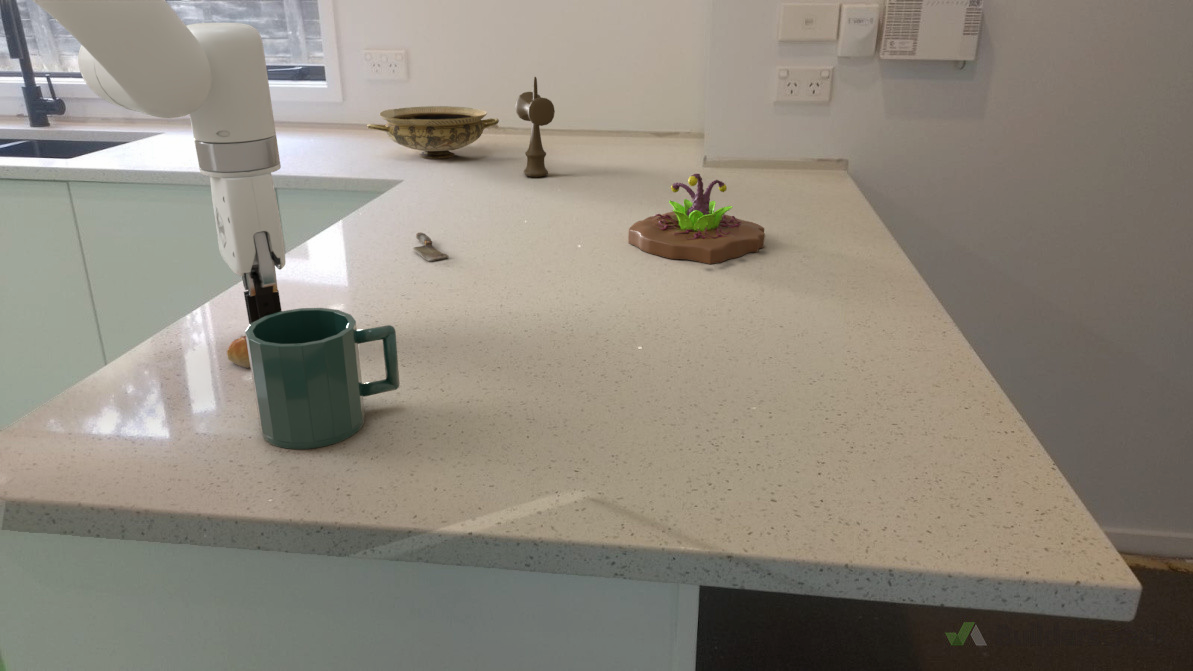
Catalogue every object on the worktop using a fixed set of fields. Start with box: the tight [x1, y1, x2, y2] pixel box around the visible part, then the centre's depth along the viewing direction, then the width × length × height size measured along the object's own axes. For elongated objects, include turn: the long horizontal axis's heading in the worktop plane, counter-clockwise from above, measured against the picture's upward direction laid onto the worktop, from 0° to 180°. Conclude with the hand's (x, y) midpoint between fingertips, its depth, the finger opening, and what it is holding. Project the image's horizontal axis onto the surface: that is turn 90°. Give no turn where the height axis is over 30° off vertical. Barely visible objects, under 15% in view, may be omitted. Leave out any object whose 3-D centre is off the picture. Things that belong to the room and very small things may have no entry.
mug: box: [244, 307, 401, 450], centre depth 74 cm, size 12×9×10 cm
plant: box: [627, 173, 766, 265], centre depth 129 cm, size 20×20×11 cm
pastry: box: [226, 335, 251, 369], centre depth 87 cm, size 9×7×4 cm
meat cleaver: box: [412, 232, 449, 262], centre depth 125 cm, size 12×1×5 cm
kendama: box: [515, 76, 556, 178], centre depth 172 cm, size 6×10×20 cm, turn 21°
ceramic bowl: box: [366, 105, 499, 159], centre depth 192 cm, size 30×24×10 cm
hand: (266, 325), depth 91 cm, fingers closed
